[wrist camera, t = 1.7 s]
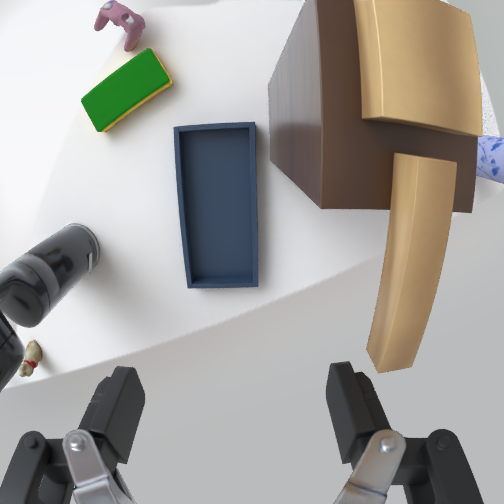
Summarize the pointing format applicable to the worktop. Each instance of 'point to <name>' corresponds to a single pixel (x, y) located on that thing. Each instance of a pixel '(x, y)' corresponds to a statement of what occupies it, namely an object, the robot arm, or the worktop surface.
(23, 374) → the chocolate bunny
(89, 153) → the worktop surface
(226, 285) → the tray
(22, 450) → the robot arm
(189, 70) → the worktop surface
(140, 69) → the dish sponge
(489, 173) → the aerosol can
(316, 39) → the stand
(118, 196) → the worktop surface
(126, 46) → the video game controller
